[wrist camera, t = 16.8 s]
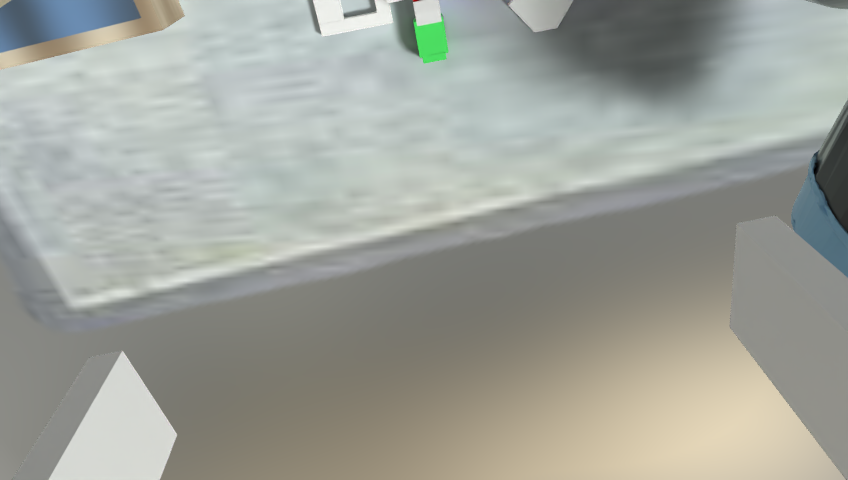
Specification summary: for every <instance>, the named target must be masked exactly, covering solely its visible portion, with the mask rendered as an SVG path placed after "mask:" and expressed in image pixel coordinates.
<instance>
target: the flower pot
mask: <svg viewBox="0 0 848 480" xmlns="http://www.w3.org/2000/svg"><path fill="white" fill-rule="evenodd" d="M9 1H11V0H0V8H1V7H2V6H3V5H5V4H6V3H8V2H9Z"/></svg>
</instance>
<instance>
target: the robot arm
mask: <svg viewBox="0 0 848 480" xmlns="http://www.w3.org/2000/svg"><path fill="white" fill-rule="evenodd" d="M806 1H810V2H813V3H817V4H820V5H824V6H828V7H832V8H839V9H848V0H806ZM791 222H792V226H793V229H794V231H795V232H794V231H793V230H792V229H791V228H790V227H788V226H787V225H786V224H785V223H784V222H783V221H781V220H780V219H779V218H778V217H777V216H772V217H767V218H762V219H757V220H752V221H748V222H742V223H738V224H737V231H736V245H735V258H734V272H733V288H732V301H731V315H730V328H731V329H732V330H733V332H734V333H735V335H736V336H737V337H738V339H739V340H740V341H741V343H742V344H743V345H744V347H745V348H746V349H747V351H748V352H749V353H750V355H751V356H752V357H753V358H754V360H755V361H756V362H757V364H758V365H759V366H760V368H761V369H762V370H763V372H764V373H765V374H766V375H767V377H768V378H769V379H770V380H771V382H772V383H773V385H774V386H775V387H776V389H777V390H778V391H779V393H780V394H781V395H782V396H783V398H784V399H785V400H786V402H787V403H788V404H789V406H790V407H791V408H792V410H793V411H794V412H795V413H796V415H797V416H798V417H799V419H800V420H801V421H802V423H803V424H804V425H805V427H806V428H807V429H808V431H809V432H810V433H811V434H812V436H813V437H814V438H815V440H816V441H817V442H818V444H819V445H820V446H821V448H822V449H823V450H824V451H825V453H826V454H827V455H828V457H829V458H830V459H831V461H832V462H833V463H834V465H835V466H836V467H837V469H838V470H839V471H840V472H841V473H842V475H843V476H844V478H845V479H846V480H848V100H847V102H846V103H845V105H844V107H843V109H842V111H841V112H840V114H839V116H838V118H837V120H836V121H835V123H834V125H833V127H832V129H831V130H830V132H829V134H828V136H827V138H826V139H825V141H824V143H823V145H822V147H821V148H820V150H819V151H818V152H816V153H815V154H814V155H813V157H812V159H811V161H810V164H809V169H808V176H807V178H806V180H805V182H804V184H803V186H802V188H801V190H800V193H799V195H798V197H797V199H796V201H795V203H794V206H793V209H792V214H791ZM176 436H177V434H176V432H175V431H174V429H173V428H172V426H171V424H170V423H169V421H168V420H167V418H166V417H165V415H164V414H163V412H162V411H161V409H160V408H159V406H158V404H157V403H156V401H155V400H154V398H153V397H152V396H151V394H150V392H149V391H148V389H147V388H146V386H145V385H144V383H143V381H142V380H141V378H140V377H139V375H138V374H137V372H136V371H135V369H134V368H133V366H132V364H131V363H130V361H129V360H128V358H127V357H126V355H125V354H124V352H123V351H118V352H113V353H109V354H104V355H99V356H94V357H89V359H88V360H87V362H86V363H85V365H84V367H83V368H82V370H81V371H80V373H79V374H78V376H77V378H76V379H75V381H74V383H73V384H72V386H71V387H70V389H69V390H68V392H67V394H66V395H65V397H64V398H63V400H62V401H61V403H60V404H59V406H58V408H57V409H56V411H55V412H54V414H53V416H52V417H51V419H50V420H49V422H48V423H47V425H46V427H45V428H44V430H43V431H42V433H41V434H40V436H39V438H38V439H37V441H36V442H35V444H34V445H33V447H32V449H31V450H30V452H29V453H28V455H27V457H26V458H25V460H24V461H23V463H22V464H21V466H20V468H19V469H18V471H17V472H16V474H15V476H14V477H13V479H12V480H160V478H161V475H162V472H163V470H164V467H165V465H166V462H167V460H168V457H169V454H170V452H171V449H172V447H173V444H174V441H175V439H176Z"/></svg>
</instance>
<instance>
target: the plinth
mask: <svg viewBox="0 0 848 480" xmlns="http://www.w3.org/2000/svg"><path fill="white" fill-rule="evenodd" d="M182 17H184V13H183V11H182V8H181V6H180V3H179V1H178V0H11V1H9V2H8V3H6V4H5V5H3V6H2V7H1V8H0V70H1V69H5V68H9V67H13V66H18V65H22V64H26V63H30V62H34V61H38V60H42V59H46V58H50V57H54V56H58V55H63V54H67V53H71V52H75V51H79V50H83V49H87V48H91V47H95V46H99V45H103V44H107V43H112V42H116V41H120V40H124V39H128V38H132V37H136V36H140V35H144V34H148V33H152V32H156V31H161V30H164V29H165V28H167V27H168V26H170V25H171V24H173V23H175V22H176V21H178V20H179V19H181V18H182Z"/></svg>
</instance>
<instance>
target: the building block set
mask: <svg viewBox="0 0 848 480" xmlns="http://www.w3.org/2000/svg"><path fill="white" fill-rule="evenodd" d="M397 1H402V0H375V5H376V9H377V11H376V12H371V13H366V14H361V15H356V16H351V17H346V18H344V14H343V10H342V6H341V1H340V0H313V2H314V6H315V10H316V14H317V18H318V22H319V26H320V30H321V34H322V37H323V36H329V35H334V34H339V33H344V32H349V31H354V30H359V29H364V28H369V27H375V26H380V25H385V24H390V23H393V18H392V13H391V7H390V3H392V2H397ZM573 1H574V0H511V1H510V2H509V3H508V5H509V4H510V3H511V2H512V3H511V4H510V5H509V6H510V7H511V9H512V10H513V11H514V12H515V13H516V14H517V15H518V16H519V17H520V18H521V19H522V20H523V21H524V22H525V23H526V24H527V25H528V26H529V27H530V28H531V29H532V30H533V32H534V33H535V32H540V31H545V30H550V29H556V28H558V26H559V24H560V22H561V21H562V19H563V17H564V16H565V14H566V12H567V11H568V9H569V7H570V6H571V4H572V2H573ZM413 6H414V11H415V17H416V19H413V22H414V28H415V33H416V39H417V45H418V50H419V56H420V58H422V57H423V62H424V63H429V62H434V61H439V60H444V59H446V53H448V47H447V41H446V34H445V27H444V21H443V16H442V14H440V5H439V0H413Z"/></svg>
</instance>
